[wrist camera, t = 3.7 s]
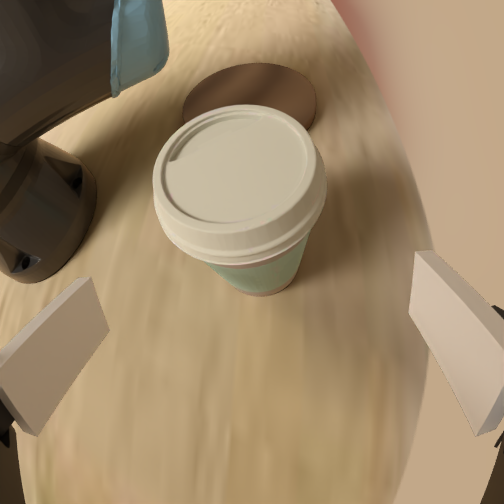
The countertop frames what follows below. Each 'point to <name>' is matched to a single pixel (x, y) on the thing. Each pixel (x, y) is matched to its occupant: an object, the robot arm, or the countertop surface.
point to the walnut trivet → (254, 91)
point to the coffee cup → (241, 194)
